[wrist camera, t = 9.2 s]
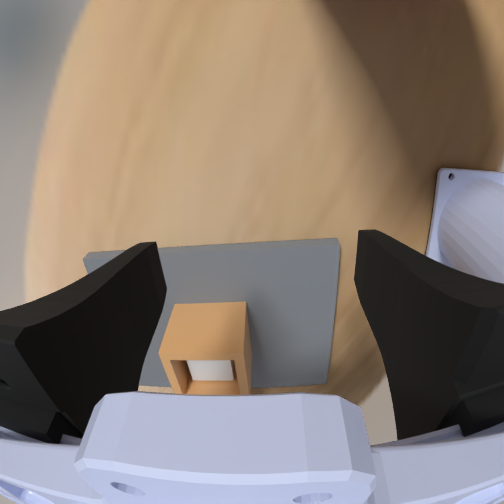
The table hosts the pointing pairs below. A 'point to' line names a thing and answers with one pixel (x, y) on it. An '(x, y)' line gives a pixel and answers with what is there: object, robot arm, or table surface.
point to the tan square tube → (207, 346)
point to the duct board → (254, 305)
